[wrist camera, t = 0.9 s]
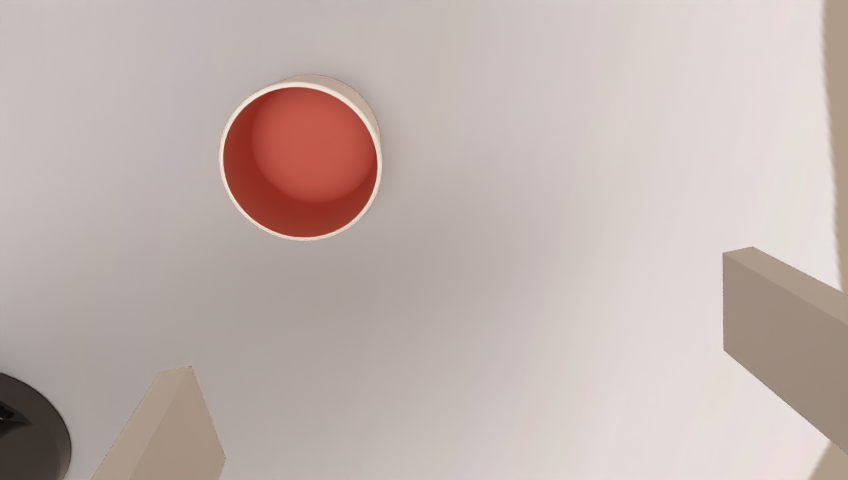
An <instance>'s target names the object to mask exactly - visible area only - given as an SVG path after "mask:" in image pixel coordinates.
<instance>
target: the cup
mask: <svg viewBox="0 0 848 480" xmlns="http://www.w3.org/2000/svg"><path fill="white" fill-rule="evenodd" d="M219 168H220V174H221V178H222V181H223V185H224V187H225V189H226V192H227V194H228V196H229V197H230V199H231V201H232V202H233V204H234V205H235V207H236V208H237V209H238V210H239V211H240V213H241V214H242V215H243V216H244V217H245V218H247V219H248V220H249V221H250V222H251V223H252V224H254V225H255V226H257V227H258V228H260V229H262V230H263V231H265V232H267V233H269V234H272V235H274V236H277V237H280V238H284V239H289V240H295V241H314V240H321V239H325V238H329V237H332V236H334V235H337V234H339V233H341V232H343V231H345V230H346V229H348V228H349V227H351V226H352V225H354V224H355V223H356V222H357V221H358V220H359V219H360V218H361V217H362V216H363V215H364V214H365V213H366V212H367V210H368V209H369V208H370V206H371V204H372V203H373V201H374V199H375V197H376V195H377V192H378V189H379V186H380V182H381V177H382V152H381V142H380V134H379V129H378V125H377V122H376V119H375V117H374V115H373V113H372V111H371V109H370V107H369V106H368V105H367V103H366V102H365V101H364V99H363V98H362V97H361V96H360V95H359V94H358V93H357V92H355V91H354V90H353V89H352V88H350V87H349V86H347V85H346V84H344V83H342V82H340V81H338V80H335V79H332V78H329V77H325V76H320V75H301V76H296V77H292V78H289V79H286V80H283V81H281V82H278V83H276V84H273V85H270V86H268V87H265V88H263V89H261V90H259V91H257V92H255V93H254V94H252V95H251V96H249V97H248V98H247V99H245V100H244V101H243V102H242V103H241V104H240V105H239V106H238V107H237V108H236V110H235V111H234V112H233V113H232V115H231V116H230V118H229V120H228V122H227V123H226V126H225V128H224V130H223V133H222V136H221V141H220V146H219Z"/></svg>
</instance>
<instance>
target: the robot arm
mask: <svg viewBox="0 0 848 480" xmlns="http://www.w3.org/2000/svg"><path fill="white" fill-rule="evenodd" d="M723 344H724V351H725V352H727V353H728V354H729V355H730V356H731V357H732V358H734V359H735V360H736V361H737V362H738V363H740V364H741V365H742V366H743V367H744V368H745V369H747V370H748V371H749V372H750V373H751V374H753V375H754V376H755V377H756V378H757V379H759V380H760V381H761V382H762V383H763V384H764V385H766V386H767V387H768V388H769V389H770V390H772V391H773V392H774V393H775V394H776V395H777V396H779V397H780V398H781V399H782V400H783V401H785V402H786V403H787V404H788V405H789V406H791V407H792V408H793V409H794V410H795V411H796V412H798V413H799V414H800V415H801V416H802V417H804V418H805V419H806V420H807V421H808V422H810V423H811V424H812V425H813V426H814V427H815V428H817V429H818V430H819V431H820V432H821V433H823V434H824V435H825V436H826V437H827V438H828V439H830V440H831V441H832V442H833V443H834V444H836V445H837V446H838V447H839V448H840V449H842V450H843V451H844V452H845V453H846V454H848V295H846V294H844V293H842V292H840V291H838V290H837V289H835V288H833V287H831V286H829V285H827V284H825V283H823V282H821V281H819V280H817V279H815V278H813V277H811V276H809V275H807V274H805V273H803V272H801V271H799V270H797V269H796V268H794V267H792V266H790V265H788V264H786V263H784V262H782V261H780V260H778V259H776V258H774V257H772V256H770V255H768V254H766V253H764V252H762V251H760V250H758V249H757V248H755V247H748V248H743V249H739V250H734V251H729V252H725V253H723ZM70 454H71V448H70V441H69V436H68V433H67V430H66V428H65V425H64V423H63V421H62V420H61V418H60V416H59V415H58V413H57V412H56V411H55V410H54V408H53V407H52V406H51V405H50V404H49V403H48V402H47V401H46V400H45V399H44V398H43V397H42V396H41V395H39V394H38V393H37V392H35V391H34V390H33V389H31V388H29V387H28V386H26V385H25V384H23V383H21V382H19V381H17V380H15V379H13V378H10V377H8V376H5V375H2V374H0V480H62V479H63V477H64V475H65V473H66V471H67V469H68V465H69V461H70ZM225 459H226V458H225V455H224V452H223V450H222V447H221V444H220V442H219V439H218V436H217V434H216V431H215V428H214V426H213V423H212V420H211V418H210V415H209V412H208V410H207V407H206V404H205V401H204V399H203V396H202V393H201V391H200V388H199V385H198V383H197V380H196V377H195V375H194V372H193V369H192V367H191V366H188V367H183V368H179V369H174V370H169V371H165V372H160V373H159V374H158V375H157V377H156V379H155V380H154V382H153V383H152V385H151V386H150V388H149V389H148V391H147V393H146V394H145V396H144V397H143V399H142V400H141V402H140V404H139V405H138V407H137V408H136V410H135V411H134V413H133V415H132V416H131V418H130V419H129V421H128V422H127V424H126V426H125V427H124V429H123V430H122V432H121V433H120V435H119V437H118V438H117V440H116V441H115V443H114V444H113V446H112V448H111V449H110V451H109V452H108V454H107V455H106V457H105V458H104V460H103V462H102V463H101V465H100V466H99V468H98V469H97V471H96V473H95V474H94V476H93V477H92V479H91V480H219V477H220V474H221V471H222V468H223V465H224V462H225Z"/></svg>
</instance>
